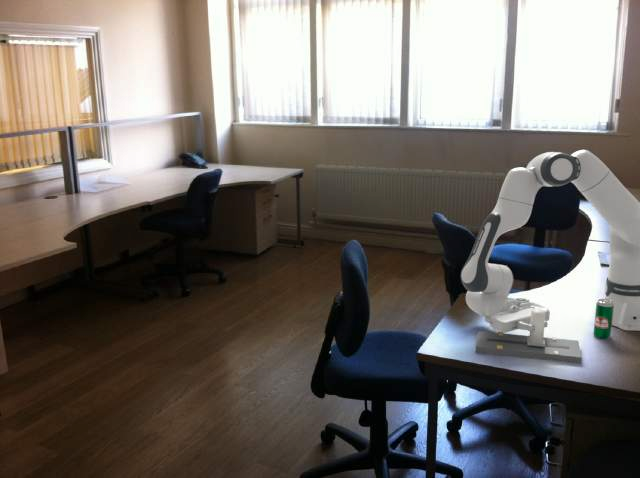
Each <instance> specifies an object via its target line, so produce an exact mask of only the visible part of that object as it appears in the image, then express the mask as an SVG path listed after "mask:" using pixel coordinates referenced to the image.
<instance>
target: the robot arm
mask: <svg viewBox="0 0 640 478" xmlns="http://www.w3.org/2000/svg"><path fill="white" fill-rule="evenodd" d="M568 183H572V184H573V185H574V186H575V187H576V189H577V190H578V191H579V192H580V193H581V195H582V196H583V197H584V198H585V199H586V200H587V201H588V202H589V203H590V204H591V206H592V207H593V208H594V209H595V210H596V211H597V212H598V213H599V215H601V217H602V218H603V219H604V220H605V221H606V222H607V224H608V225H609V226H608V227H609V229H608V232H609V233H608V235H609V236H608V238H609V267H608V276H607V277H606V280H605V286H604V287H605V288H604V294H605V295H604V296H605V297H604V299H608V300H611V301H613V305H614V310H613V319H612V327H613V326H614V327H617V328H619V329H621V330H623V331H636V332H639V331H640V201H638V199H637V198H636V197H635V196H634V195H633V194H632V193H631V192H630V191H629V190H628V189H627V188H626V187H625V186H624V184H623V183H621V181H620V180H619V179H618V178H617V176H616V175H615V174H614V173H613V172H612V171H611V170H610V168H609V167H608V166H607V165H606V164H605V163H604V162H603V161H602V160H601V159H600V158H599V157H598V156H597V155H595V154H593V153H592V152H591V150H590V151H589V150H587V149H581V150H577V151H575V152H572V153H571V154H568V153H564V152H561V151H557V152H556V151H547V152H544V153H539V154H537V155H534V156H533V157H532V158H531V159H530V160H529V161H528V162H527V163H526V164H525V165H524V166H523V167H520V166H519V167H514V168H512V169H510V170H509V171H508V172H507V175H506V176H505V179H504V181H503V183H502V185H501V189H500V191H499V195H498V199H497V202H496V204H495V206H494V208H493V210H492V211H491V213H489V214H488V215H487V216H486V217H485V219H484V221H483V223H482V225H481V226H480V229H479V232H478V234H477V236H476V239H475V242H474V243H473V246H472V249H471V252H470V254H469V257H468V258H467V260H466V261H465V263H464V265H463V266H462V268H461V271H460V281H461V283H462V285H463V287H464V288H465V290H467V292H466V294H465V302H466V305H467V306H468V308H469V309H470V310H472V311H473V312H474V313H475V314H477V315H479V316H482V317H483V318H484V322H485V323H488V324H489V325H490V327H492V328H493V329H494V330H496V331H497V332H501V333H504V334H507V333H508V332H512V331H516V330H523V331H528V332H529V333H530V332H531V331H534V328H535V326H534V325H532V324H530V323H531V311H532V310H534V309H539V310H543V311H545V324H544V329H545V328H547V327H548V321H550V314H551V313H550V310H549V308H548V307H545V306H543V305H541V304H539V303H535V302H532V301H530V299H528V298H527V297H523V298H522V297H521V298H518V297H517V298H513V297H509V295H510V293H511V290H512V287H513V285H514V279H515V278H514V275H513V271H512V270H511V269H510V267H508V265H504V264H498V263H489V259H490V257H491V254H492V251H493V249H494V246H495V243H496V242H497V240H498V238H499V237H500V236H501V235H503V234H505V233H507V232H509V231H513V230H518V229H519V228H522V226H524V225H526V224H527V223H528V221H529V219H530V217H531V214H532V211H533V208H534V207H533V205H534V204H535V200H536V199H535V198H536V195H537V193H538V191H539V190H540V189H541V188H542V187H548V188H549V187H551V188H552V187H562V186H564V185H567V184H568Z"/></svg>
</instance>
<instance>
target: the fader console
mask: <svg viewBox="0 0 640 478" xmlns="http://www.w3.org/2000/svg"><path fill="white" fill-rule="evenodd" d="M527 336H528V335H525V334H524V335H523V334H515V333H514V334H513V333H503V332H499V331H497V332H492V331H481V330H478V331H477V336H476V341H475V353H477V354H487V355H497V356H504V357H505V356H506V357H515V358H522V359H523V358H524V359H532V360H534V359H535V360H544V361H552V362H553V361H554V362H561V363H562V362H564V363H570V364H571V363H573V364H580V365H581V364H582V360H583V357H582V351H581V346H580V343H579V342H580V341H579V340H574V339H565V338H557V337H544V336H543V338H545V347H542V346H532V345H527Z"/></svg>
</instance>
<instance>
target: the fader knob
mask: <svg viewBox="0 0 640 478" xmlns="http://www.w3.org/2000/svg"><path fill="white" fill-rule="evenodd" d="M530 324H532V325H534V326H535V328H534V331H531V332H530V331H529V335H526V336H527V345H532V346H542V347H545V338H546V337H545V338H543V337H544V334H545V328H544V324H545V311H543V310H539V309H534V310H532V311H531V323H530Z"/></svg>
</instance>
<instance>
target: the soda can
mask: <svg viewBox="0 0 640 478" xmlns="http://www.w3.org/2000/svg"><path fill="white" fill-rule="evenodd" d="M613 310H614V305H613V301H611V300H608V299H605V298H600V299H598V300H597V302H596V305H595V315H594V323H593V324H594V325H593V336H594V337H596V338H597V339H600V340H607V339H609V338H611V335H612V327H613V325H612V319H613Z"/></svg>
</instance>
